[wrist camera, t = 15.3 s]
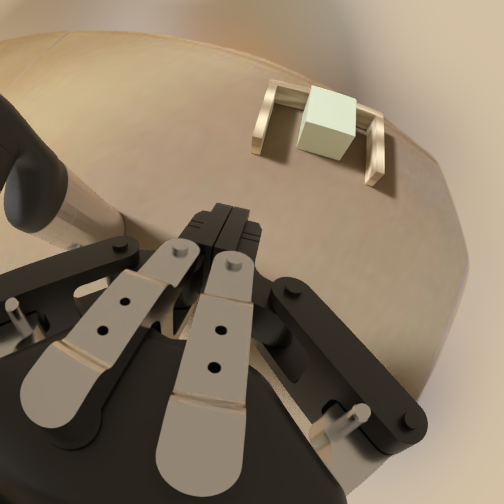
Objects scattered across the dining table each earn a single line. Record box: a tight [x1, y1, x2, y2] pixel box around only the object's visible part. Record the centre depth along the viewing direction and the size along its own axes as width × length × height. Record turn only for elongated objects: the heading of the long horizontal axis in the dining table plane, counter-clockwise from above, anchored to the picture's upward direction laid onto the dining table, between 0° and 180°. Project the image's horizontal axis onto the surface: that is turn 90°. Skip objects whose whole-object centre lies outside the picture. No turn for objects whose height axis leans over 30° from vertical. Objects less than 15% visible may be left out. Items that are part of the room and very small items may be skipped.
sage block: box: [297, 86, 356, 161], centre depth 42 cm, size 9×8×8 cm
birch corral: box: [251, 79, 385, 186], centre depth 43 cm, size 14×22×5 cm, turn 77°
